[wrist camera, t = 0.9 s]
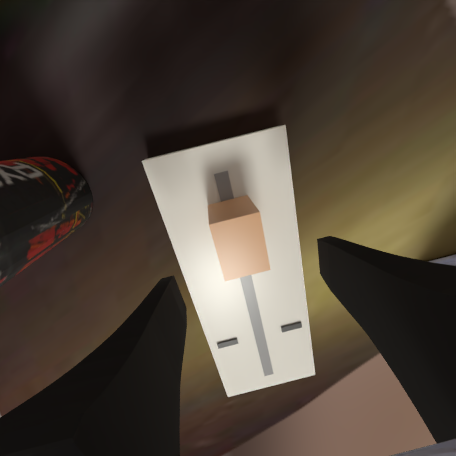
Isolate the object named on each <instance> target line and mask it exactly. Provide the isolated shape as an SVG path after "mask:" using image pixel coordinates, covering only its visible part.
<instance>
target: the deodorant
mask: <svg viewBox="0 0 456 456" xmlns="http://www.w3.org/2000/svg"><path fill="white" fill-rule="evenodd" d="M92 208H93V198H92V193H91V190H90V188H89V186H88V184H87V182H86V181H85V180H84V178H83V177H82V176H81V175H80V173H78V172H77V171H76V170H75V169H74V168H72V167H71V166H70V165H68V164H66V163H64V162H62V161H60V160H57V159H54V158H50V157H28V158H21V159H13V160H5V161H0V287H1V286H2V285H3V284H5V283H6V282H7V281H9V280H10V279H11V278H13V277H14V276H15V275H17V274H18V273H19V272H21V271H22V270H23V269H25V268H26V267H27V266H29V265H30V264H31V263H33V262H34V261H35V260H37V259H38V258H39V257H41V256H42V255H44V254H45V253H46V252H48V251H49V250H50V249H52V248H53V247H54V246H56V245H57V244H58V243H60V242H61V241H62V240H64V239H65V238H66V237H68V236H69V235H70V234H72V233H73V232H74V231H76V230H77V229H78V228H80V227H81V226H82V225H83V224H84V223H85V222H86V221H87V220H88V219H89V217H90V215H91V213H92Z"/></svg>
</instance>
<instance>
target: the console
mask: <svg viewBox="0 0 456 456" xmlns="http://www.w3.org/2000/svg"><path fill="white" fill-rule="evenodd" d="M142 163H143V166H144V169H145V171H146V174H147V177H148V180H149V182H150V185H151V188H152V191H153V193H154V196H155V199H156V201H157V204H158V207H159V210H160V212H161V215H162V218H163V221H164V223H165V226H166V229H167V232H168V234H169V237H170V240H171V242H172V245H173V248H174V251H175V253H176V256H177V259H178V262H179V264H180V267H181V270H182V273H183V275H184V278H185V281H186V284H187V286H188V289H189V292H190V294H191V297H192V300H193V303H194V305H195V308H196V311H197V314H198V316H199V319H200V322H201V325H202V327H203V330H204V333H205V335H206V338H207V341H208V344H209V346H210V349H211V352H212V355H213V357H214V360H215V363H216V366H217V368H218V371H219V374H220V377H221V379H222V382H223V385H224V387H225V390H226V393H227V396H228V397H230V396H234V395H238V394H242V393H246V392H250V391H254V390H258V389H261V388H265V387H269V386H273V385H277V384H281V383H285V382H289V381H293V380H296V379H300V378H304V377H308V376H312V375H315V369H314V361H313V352H312V344H311V335H310V327H309V319H308V310H307V302H306V293H305V285H304V276H303V268H302V260H301V251H300V243H299V234H298V226H297V218H296V209H295V201H294V192H293V184H292V175H291V167H290V159H289V150H288V142H287V133H286V125H282V126H276V127H272V128H268V129H264V130H260V131H256V132H252V133H248V134H244V135H240V136H236V137H232V138H228V139H224V140H220V141H216V142H212V143H208V144H204V145H200V146H196V147H192V148H188V149H184V150H180V151H176V152H172V153H168V154H164V155H160V156H156V157H152V158H148V159H145V160H143V161H142ZM246 195H248V197H249V198H250V199H251V201H252V202H253V203H254V205H255V206H256V207H257V209H258V210H259V211H260V215H261V221H262V226H263V231H264V237H265V242H266V248H267V253H268V259H269V264H270V269H271V270H268V271H264V272H260V273H256V274H252V275H248V276H245V277H241V278H237V279H233V280H229V281H225V280H224V277H223V273H222V270H221V266H220V263H219V259H218V256H217V252H216V249H215V245H214V241H213V238H212V234H211V231H210V227H209V220H208V205H210V204H214V203H218V202H222V201H226V200H230V199H234V198H238V197H242V196H246Z"/></svg>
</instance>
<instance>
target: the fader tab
mask: <svg viewBox="0 0 456 456" xmlns="http://www.w3.org/2000/svg"><path fill="white" fill-rule="evenodd" d="M208 220H209V227H210V231H211V234H212V238H213V241H214V245H215V249H216V252H217V256H218V259H219V263H220V266H221V270H222V273H223V277H224V280H225V281H229V280H233V279H237V278H241V277H245V276H248V275H252V274H256V273H260V272H264V271H268V270H271V269H270V264H269V259H268V253H267V248H266V242H265V237H264V231H263V226H262V221H261V215H260V211H259V210H258V209H257V207H256V206H255V205H254V203H253V202H252V201H251V199H250V198H249V197H248V195H246V196H242V197H238V198H234V199H230V200H226V201H222V202H218V203H214V204H210V205H208Z"/></svg>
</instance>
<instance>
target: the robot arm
mask: <svg viewBox="0 0 456 456" xmlns="http://www.w3.org/2000/svg"><path fill="white" fill-rule="evenodd" d="M317 242H318V254H319V266H320V274H321V276H322V277H323V279H324V281H325V282H326V284H327V285H328V287H329V289H330V290H331V291H332V293H333V294H334V295H335V296H336V297H337V299H338V300H339V301H340V302H341V303H342V305H343V306H344V307H345V308H346V309H347V310H348V312H349V313H350V314H351V315H352V316H353V318H354V319H355V320H356V321H357V322H358V323H359V325H360V326H361V327H362V328H363V329H364V331H365V332H366V333H367V335H368V336H369V337H370V339H371V340H372V342H373V343H374V344H375V346H376V347H377V349H378V350H379V352H380V353H381V355H382V356H383V358H384V359H385V361H386V362H387V364H388V365H389V367H390V368H391V370H392V371H393V372H394V374H395V375H396V377H397V379H398V380H399V382H400V383H401V385H402V386H403V388H404V390H405V391H406V393H407V394H408V396H409V398H410V399H411V401H412V403H413V404H414V406H415V407H416V409H417V411H418V412H419V414H420V416H421V417H422V419H423V421H424V422H425V424H426V426H427V427H428V429H429V431H430V433H431V434H432V436H433V438H434V439H435V441H436V442H437V444H433V445H430V446H426V447H422V448H418V449H414V450H411V451H407V452H403V453H399V454H395V455H391V456H456V255H452V256H448V257H444V258H440V259H436V260H432V261H428V262H427V261H422V260H417V259H411V258H407V257H402V256H398V255H394V254H390V253H386V252H382V251H379V250H375V249H372V248H368V247H365V246H362V245H359V244H355V243H352V242H349V241H346V240H343V239H339V238H336V237H332V236H327V237H324V238H320V239H317ZM186 328H187V315H186V306H185V303H184V300H183V298H182V295H181V293H180V290H179V287H178V285H177V282H176V280H175V277H174V276H170V277H166V278H162V279H161V280H160V281H159V282H158V283H157V284H156V286H155V287H154V288H153V289H152V290H151V292H150V293H149V294H148V295H147V297H146V298H145V299H144V300H143V301H142V303H141V304H140V305H139V306H138V307H137V308H136V310H135V311H134V312H133V313H132V314H131V315H130V316H129V317H128V318H127V320H126V321H125V322H124V323H123V324H122V325H121V326H120V327H119V328H118V329H117V330H116V331H115V332H114V333H113V334H112V335H111V336H110V337H109V338H108V339H107V340H105V341H104V342H103V343H102V344H101V345H100V346H99V347H98V348H96V349H95V350H94V351H93V352H92V353H90V354H89V355H88V356H87V357H86V358H84V359H83V360H82V361H81V362H80V363H78V364H77V365H76V366H75V367H73V368H72V369H71V370H69V371H68V372H67V373H65V374H64V375H63V376H62V377H60V378H59V379H57V380H56V381H55V382H53V383H52V384H50V385H49V386H48V387H46V388H45V389H43V390H42V391H40V392H39V393H38V394H36V395H35V396H33V397H31V398H30V399H28V400H27V401H25V402H24V403H22V404H21V405H19V406H18V407H16V408H15V409H13V410H12V411H10V412H9V413H7V414H5V415H4V416H2V417H1V418H0V456H180V444H179V425H180V381H181V370H182V362H183V354H184V346H185V337H186Z"/></svg>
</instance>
